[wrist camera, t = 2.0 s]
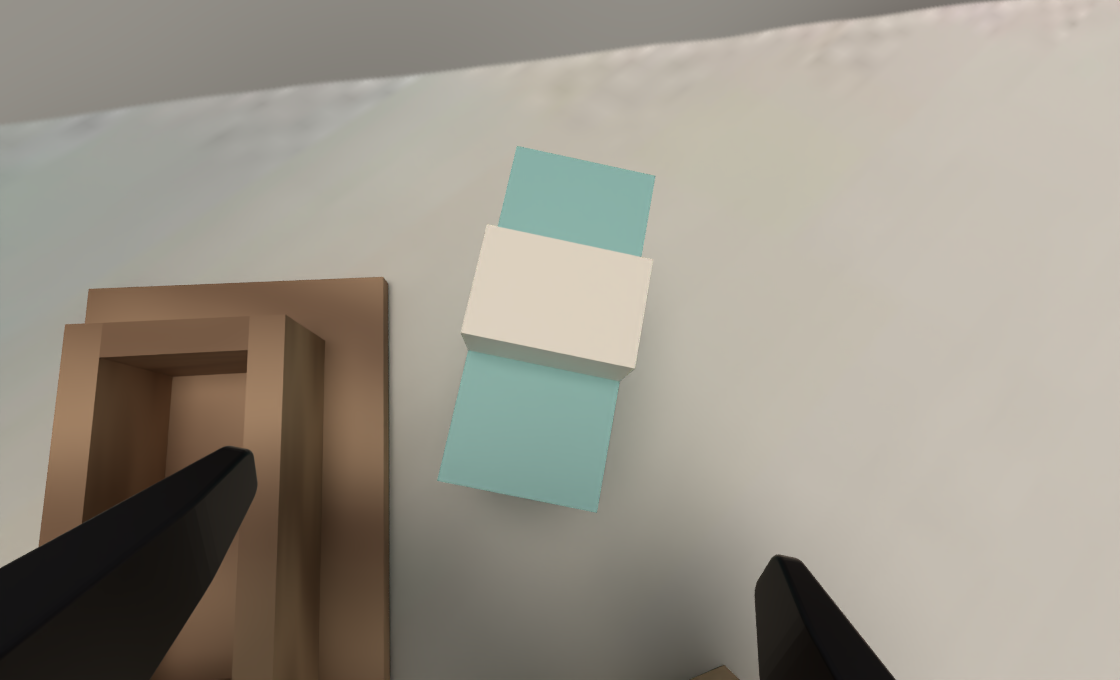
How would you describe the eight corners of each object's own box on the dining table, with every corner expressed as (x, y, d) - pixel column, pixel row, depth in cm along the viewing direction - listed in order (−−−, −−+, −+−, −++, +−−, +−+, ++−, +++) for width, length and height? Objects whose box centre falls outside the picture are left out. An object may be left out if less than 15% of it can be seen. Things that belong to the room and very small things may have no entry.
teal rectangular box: (559, 491, 20) (609, 519, 9) (475, 474, 20) (424, 482, 9) (594, 305, 22) (673, 136, 11) (517, 289, 22) (516, 102, 11)
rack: (390, 767, 18) (351, 857, 14) (51, 805, 17) (-98, 912, 13) (388, 283, 22) (356, 239, 17) (105, 295, 21) (-1, 251, 16)
